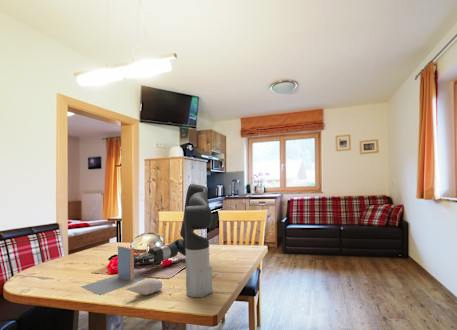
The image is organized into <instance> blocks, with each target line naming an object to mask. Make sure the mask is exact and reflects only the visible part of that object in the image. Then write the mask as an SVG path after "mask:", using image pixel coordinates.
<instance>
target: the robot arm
mask: <svg viewBox="0 0 457 330" xmlns="http://www.w3.org/2000/svg"><path fill="white" fill-rule="evenodd" d="M208 194H209V193H208V187H206V186H205V185H200V184H196V183H190V184H189V185H188V187H187V190H186V197H185V202H184V211H183V219H182V222H181V223H182V224H181V228H180V231H179V233H180V234H179V235H180V237H181V238H178V239H176V240H175V241H172V242H171V243H169V244H166V245H159V246H155V247H151V248H149V250H148V251H147V252H144V253H142V254H140V253H136V254H135V255H134V265H137V264H138V265H139V264H140V265H143V264H146V265H147V264H153V265H154V264H158V263H160V262H161V263H162V262H164V261H166V260H169V259H172V258H174V257H176V256H178V254H181V255H183V256H184V257H185V287H186V289H185V292H186V295H187V296H188V297H191V298H204V297H206V296H207V295H209V294H211V293H213V271H212V270H213V267H211V265H210V241H209V239H208V238H207V237H204V236H201V235H198V234H197V233H196V232H194V231H195V230H198V231H199V230H207V229H209V228H210V227H211V226H212V223H213V213H212V210H211V207H210V203H209V199H208Z"/></svg>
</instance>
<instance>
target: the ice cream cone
mask: <svg viewBox="0 0 457 330" xmlns="http://www.w3.org/2000/svg"><path fill="white" fill-rule="evenodd" d="M162 288H163V282H162V281H161V279H158V278H157V279H156V278H155V279H154V278H152V277H151V278H149V277H147V278H146V279H144V280H141V281H138V282H135V283H133V284H131V285H129V287H126V288H125V289H124V290H125V291H129V292H133V293H136V294H140V295H143V296H148V295H151V294H154V293H158V292H160V290H162Z"/></svg>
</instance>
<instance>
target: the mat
mask: <svg viewBox="0 0 457 330" xmlns="http://www.w3.org/2000/svg"><path fill="white" fill-rule="evenodd" d="M146 278H148V277H147V276H144V275H140V274H138V273H137V274H136V273H134V280H133V281H128V280H125V279H122V278H119V277H118V274H115V275H114V276H110V277H106V278H104V279H101V280H97V281H94V282H92V283H88V284H85V285H82V286H80V288H83V289H84V290H87V291H90V292H91V293H93V294H96V295H98V296H102V295H104V294H108V293H111V292H114V291H116V290H119V289H122V288H125V287H127V286H131V285H134V284H136V283H138V282H140V281H142V280H144V279H146Z"/></svg>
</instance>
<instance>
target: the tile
mask: <svg viewBox="0 0 457 330" xmlns="http://www.w3.org/2000/svg"><path fill="white" fill-rule="evenodd" d="M134 249H135V248H134V247H130V246H126V245H121V244H120V245H118V246H117V275H118V277H119V278H122V279H125V280H128V281H133V280H134V274H135V264H134V256H135V255H134V254H135V251H134Z"/></svg>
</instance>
